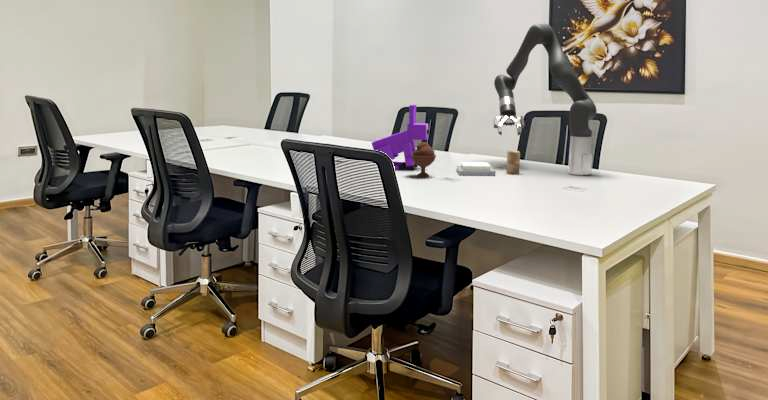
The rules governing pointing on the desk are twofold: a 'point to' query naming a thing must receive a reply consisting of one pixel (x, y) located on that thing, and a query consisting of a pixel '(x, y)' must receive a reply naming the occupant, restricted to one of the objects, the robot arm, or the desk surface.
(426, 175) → the ice cream bowl
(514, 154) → the brown mottled cylinder
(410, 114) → the toy
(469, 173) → the plinth
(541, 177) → the desk surface
